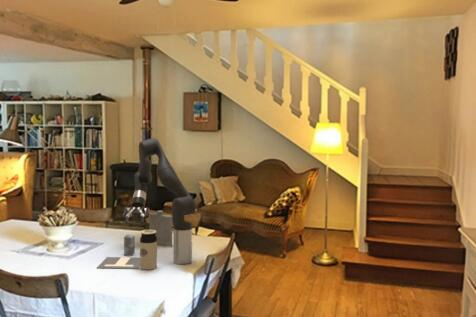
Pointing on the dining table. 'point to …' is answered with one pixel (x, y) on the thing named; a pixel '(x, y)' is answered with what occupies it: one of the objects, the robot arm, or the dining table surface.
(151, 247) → the travel mug
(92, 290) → the dining table surface
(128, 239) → the slate block
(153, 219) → the hip flask
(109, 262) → the letter board
